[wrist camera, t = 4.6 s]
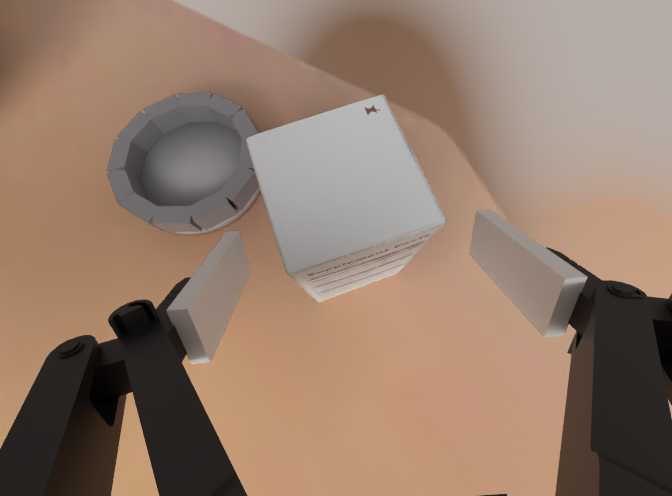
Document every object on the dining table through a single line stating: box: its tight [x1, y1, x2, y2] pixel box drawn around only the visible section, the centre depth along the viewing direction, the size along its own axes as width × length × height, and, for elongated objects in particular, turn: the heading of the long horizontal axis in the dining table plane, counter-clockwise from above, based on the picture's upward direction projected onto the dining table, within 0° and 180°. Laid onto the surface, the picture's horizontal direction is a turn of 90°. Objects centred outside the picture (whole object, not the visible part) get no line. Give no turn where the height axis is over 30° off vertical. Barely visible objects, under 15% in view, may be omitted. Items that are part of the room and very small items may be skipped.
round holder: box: [107, 93, 261, 236], centre depth 26 cm, size 13×13×3 cm
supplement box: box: [246, 94, 446, 302], centre depth 19 cm, size 7×7×13 cm
